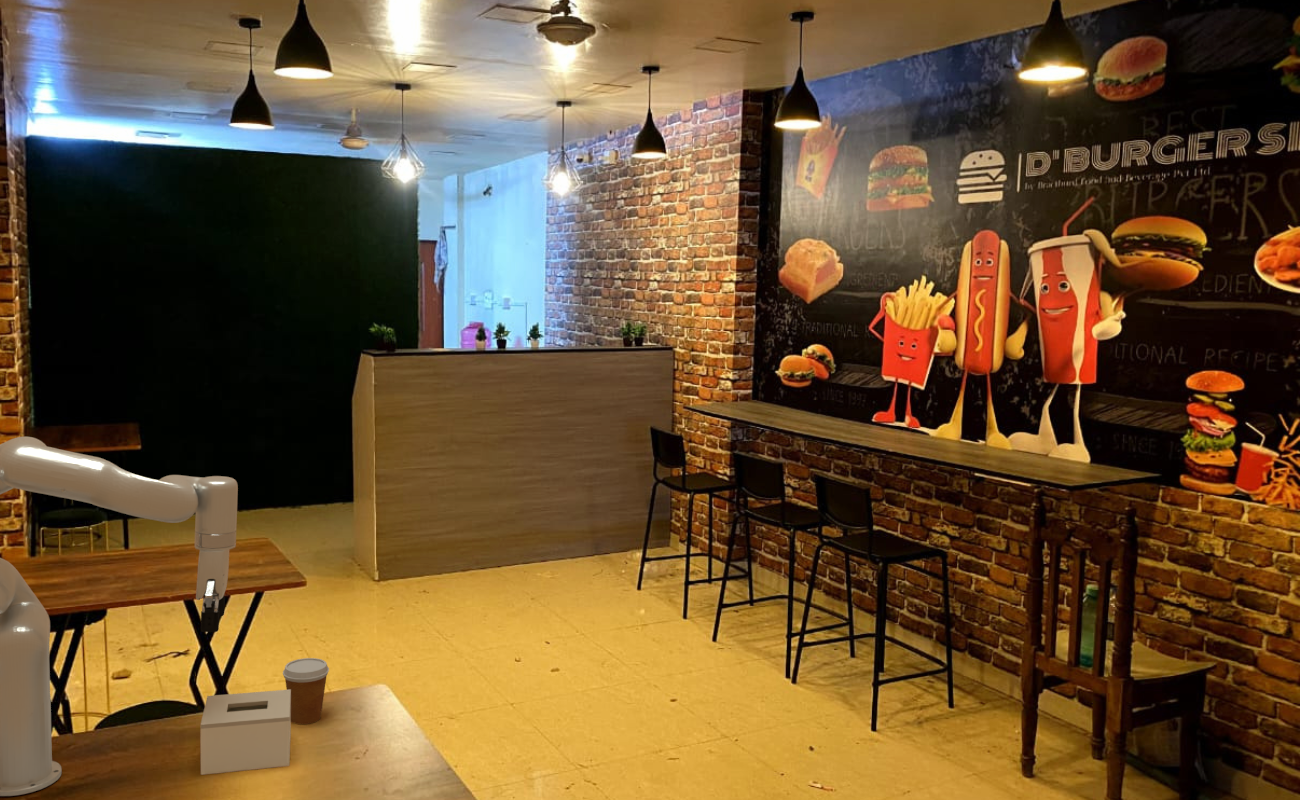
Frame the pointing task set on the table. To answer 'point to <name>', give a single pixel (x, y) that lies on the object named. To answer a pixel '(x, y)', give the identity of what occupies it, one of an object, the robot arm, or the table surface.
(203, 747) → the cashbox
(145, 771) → the table surface
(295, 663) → the disposable coffee cup
